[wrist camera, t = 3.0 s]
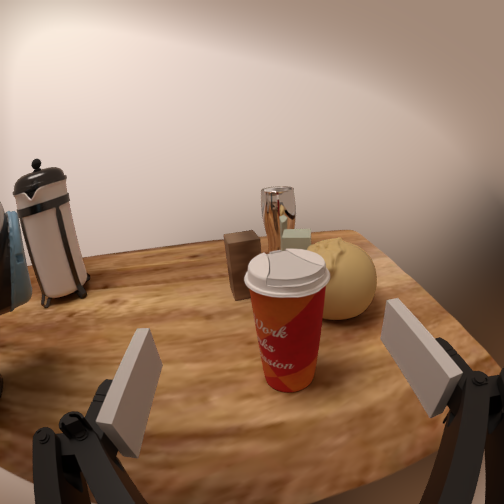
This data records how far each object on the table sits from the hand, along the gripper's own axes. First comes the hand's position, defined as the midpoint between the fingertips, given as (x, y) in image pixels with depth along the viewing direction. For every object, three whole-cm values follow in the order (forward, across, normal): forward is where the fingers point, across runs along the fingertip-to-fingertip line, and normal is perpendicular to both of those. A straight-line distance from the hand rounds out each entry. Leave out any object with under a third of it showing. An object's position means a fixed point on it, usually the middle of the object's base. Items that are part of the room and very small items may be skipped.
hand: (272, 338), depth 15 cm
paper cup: (+11, +2, -14) cm, 18 cm away
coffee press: (+38, -43, -14) cm, 59 cm away
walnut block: (+32, -2, -14) cm, 35 cm away
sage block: (+37, +8, -14) cm, 40 cm away
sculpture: (+24, +11, -14) cm, 30 cm away
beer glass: (+45, +6, -14) cm, 48 cm away
